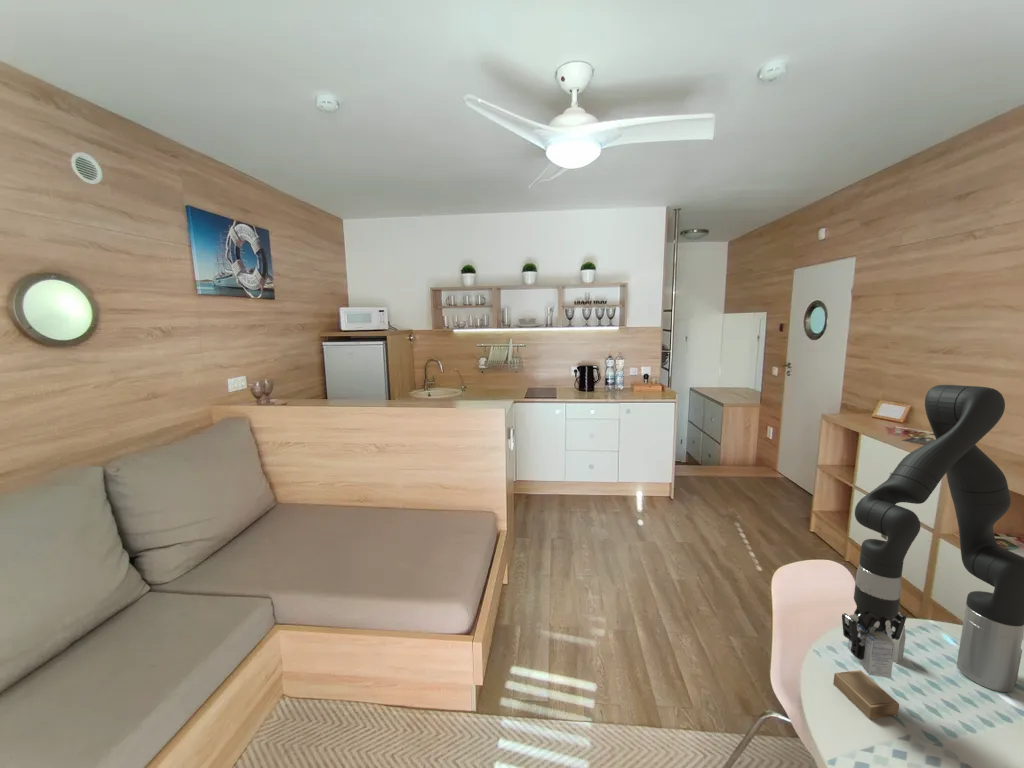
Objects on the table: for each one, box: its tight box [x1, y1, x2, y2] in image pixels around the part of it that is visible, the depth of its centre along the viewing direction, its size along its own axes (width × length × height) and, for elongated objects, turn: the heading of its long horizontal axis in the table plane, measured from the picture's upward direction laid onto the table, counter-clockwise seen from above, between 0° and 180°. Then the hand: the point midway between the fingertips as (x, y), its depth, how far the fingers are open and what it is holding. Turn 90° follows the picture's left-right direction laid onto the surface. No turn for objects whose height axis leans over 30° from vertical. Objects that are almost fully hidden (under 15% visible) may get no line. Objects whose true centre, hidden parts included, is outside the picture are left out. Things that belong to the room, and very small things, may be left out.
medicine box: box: [847, 625, 895, 679], centre depth 93 cm, size 8×4×9 cm, turn 168°
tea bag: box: [892, 624, 906, 664], centre depth 108 cm, size 4×7×10 cm, turn 28°
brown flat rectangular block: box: [832, 669, 900, 720], centre depth 95 cm, size 7×9×3 cm
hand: (869, 655), depth 93 cm, fingers closed on medicine box, 5 cm apart
